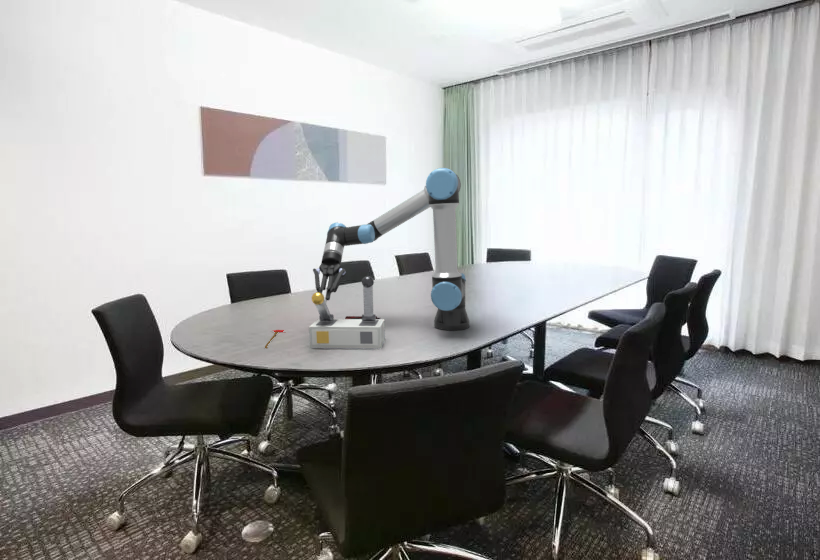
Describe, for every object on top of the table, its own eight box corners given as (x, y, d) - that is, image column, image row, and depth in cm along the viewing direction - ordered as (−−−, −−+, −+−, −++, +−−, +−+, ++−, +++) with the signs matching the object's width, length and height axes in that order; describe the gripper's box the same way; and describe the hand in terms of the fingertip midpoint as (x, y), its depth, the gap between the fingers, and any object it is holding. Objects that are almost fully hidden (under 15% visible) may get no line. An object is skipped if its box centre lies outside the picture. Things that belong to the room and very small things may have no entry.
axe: (293, 331, 187) (271, 330, 188) (293, 329, 187) (271, 328, 188) (267, 350, 162) (241, 349, 163) (267, 347, 162) (241, 347, 163)
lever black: (376, 319, 166) (375, 275, 164) (374, 322, 162) (373, 276, 160) (363, 319, 167) (362, 275, 164) (361, 322, 162) (360, 276, 160)
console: (385, 339, 171) (384, 318, 170) (380, 349, 159) (379, 326, 158) (319, 338, 173) (318, 318, 172) (309, 348, 161) (308, 326, 160)
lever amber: (334, 314, 168) (324, 289, 154) (332, 324, 165) (322, 300, 151) (321, 314, 168) (310, 289, 154) (320, 324, 165) (308, 300, 152)
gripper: (350, 262, 178) (342, 312, 164) (318, 262, 179) (307, 312, 165) (346, 250, 171) (338, 301, 158) (314, 250, 173) (302, 301, 159)
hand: (322, 306), depth 161 cm, fingers closed
